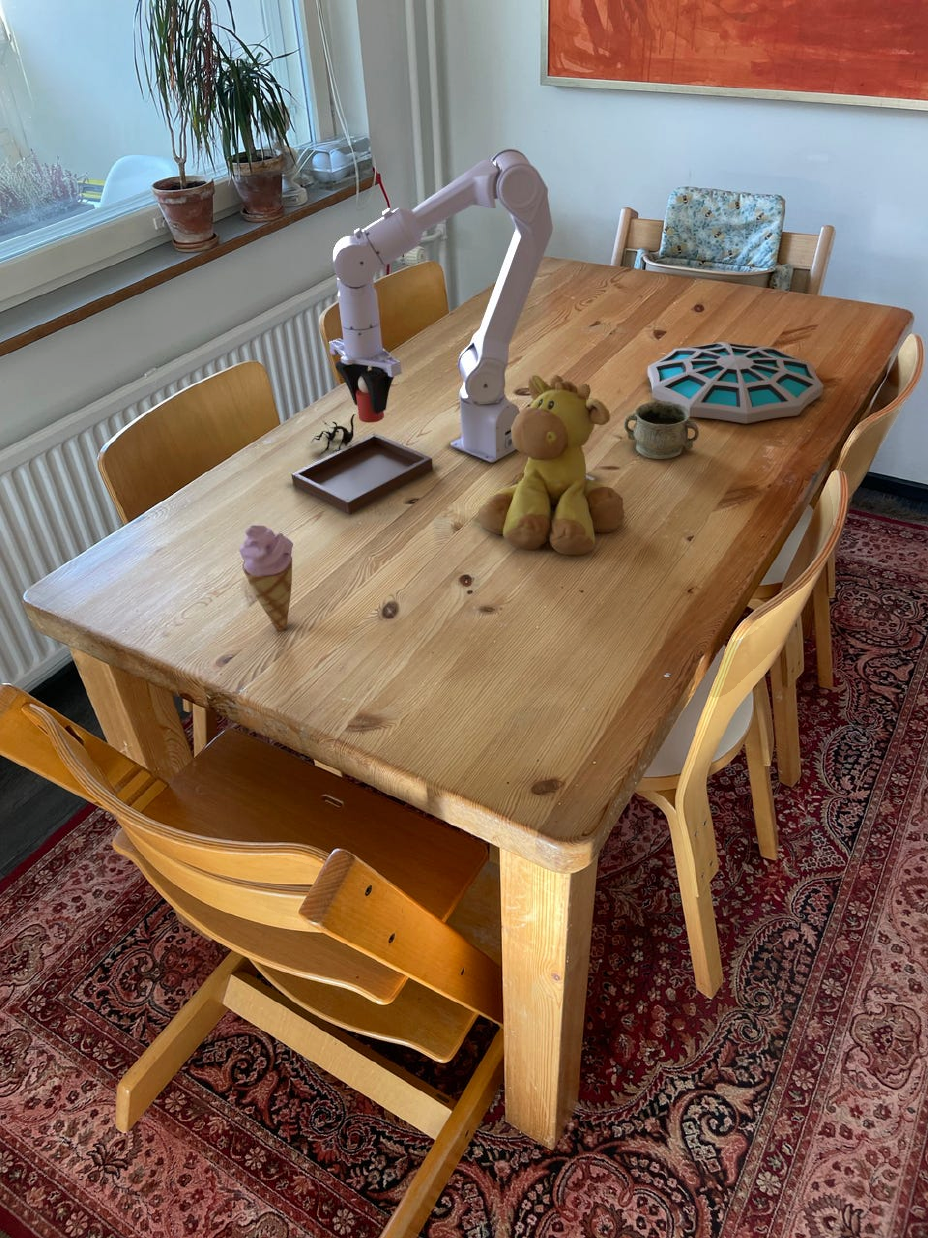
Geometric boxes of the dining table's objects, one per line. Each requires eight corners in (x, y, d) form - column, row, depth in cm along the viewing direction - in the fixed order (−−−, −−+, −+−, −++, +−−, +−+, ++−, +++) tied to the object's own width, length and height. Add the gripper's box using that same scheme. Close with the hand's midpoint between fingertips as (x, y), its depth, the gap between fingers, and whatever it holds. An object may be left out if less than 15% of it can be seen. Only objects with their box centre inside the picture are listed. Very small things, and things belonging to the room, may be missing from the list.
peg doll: (389, 416, 150) (384, 373, 145) (370, 425, 148) (365, 381, 143) (372, 409, 152) (367, 366, 148) (353, 417, 150) (348, 375, 145)
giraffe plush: (462, 544, 132) (455, 419, 121) (517, 465, 149) (515, 349, 138) (603, 570, 126) (610, 441, 114) (643, 484, 143) (654, 364, 131)
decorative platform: (627, 411, 163) (629, 383, 160) (664, 347, 184) (666, 322, 181) (812, 434, 153) (818, 406, 150) (829, 364, 174) (834, 338, 171)
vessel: (616, 455, 151) (618, 419, 147) (629, 431, 157) (632, 395, 153) (690, 466, 147) (695, 429, 143) (701, 440, 153) (706, 405, 149)
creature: (307, 462, 156) (351, 455, 153) (296, 433, 153) (340, 426, 150) (322, 440, 162) (364, 433, 159) (311, 412, 159) (354, 404, 156)
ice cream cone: (260, 612, 122) (237, 513, 113) (307, 607, 122) (289, 509, 113) (255, 644, 117) (231, 543, 108) (305, 640, 117) (286, 539, 108)
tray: (433, 469, 150) (432, 457, 148) (349, 514, 140) (347, 502, 139) (375, 444, 157) (374, 433, 156) (293, 485, 148) (291, 473, 146)
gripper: (309, 319, 142) (321, 402, 151) (372, 342, 134) (381, 429, 142) (345, 306, 146) (355, 388, 154) (408, 327, 138) (415, 413, 146)
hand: (370, 407), depth 149 cm, fingers closed on peg doll, 4 cm apart
